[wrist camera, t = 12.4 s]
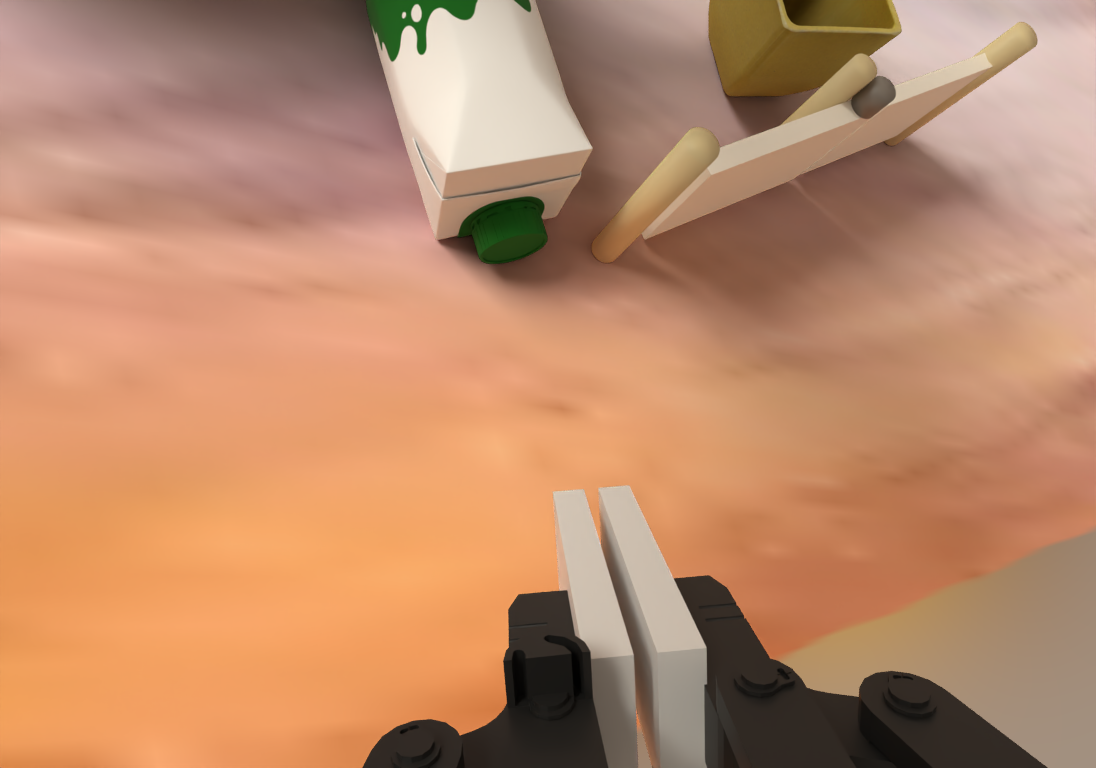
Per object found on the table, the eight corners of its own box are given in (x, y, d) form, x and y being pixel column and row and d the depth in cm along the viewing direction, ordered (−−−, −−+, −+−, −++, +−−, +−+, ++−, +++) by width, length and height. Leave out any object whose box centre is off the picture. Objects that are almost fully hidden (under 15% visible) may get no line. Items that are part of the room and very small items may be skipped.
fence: (599, 267, 42) (696, 167, 31) (576, 222, 42) (664, 108, 31) (902, 142, 52) (1058, 33, 41) (883, 106, 52) (1032, -11, 41)
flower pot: (676, 8, 48) (748, -103, 40) (778, 13, 51) (865, -90, 43) (706, 121, 47) (787, 30, 39) (809, 119, 50) (905, 34, 42)
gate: (645, 242, 42) (730, 162, 33) (634, 220, 42) (714, 133, 33) (794, 182, 47) (903, 97, 38) (783, 161, 47) (889, 72, 38)
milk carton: (346, -24, 42) (434, 280, 39) (336, -167, 33) (447, 211, 31) (483, -36, 44) (574, 250, 42) (507, -172, 36) (624, 178, 33)
